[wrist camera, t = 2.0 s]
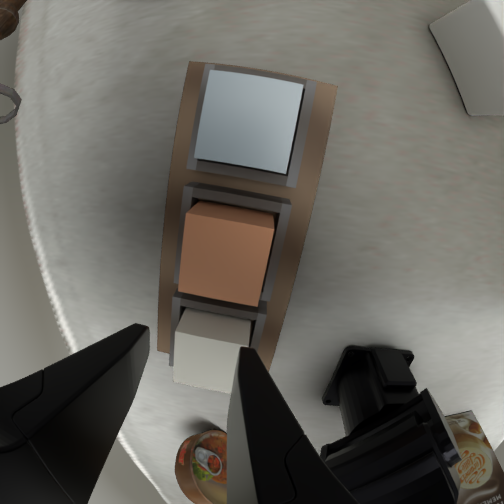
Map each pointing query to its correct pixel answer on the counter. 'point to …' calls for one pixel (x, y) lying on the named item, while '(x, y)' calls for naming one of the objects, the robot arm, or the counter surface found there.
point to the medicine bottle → (475, 53)
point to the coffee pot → (3, 24)
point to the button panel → (243, 206)
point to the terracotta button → (225, 252)
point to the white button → (208, 349)
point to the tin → (203, 467)
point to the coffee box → (476, 462)
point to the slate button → (248, 120)
